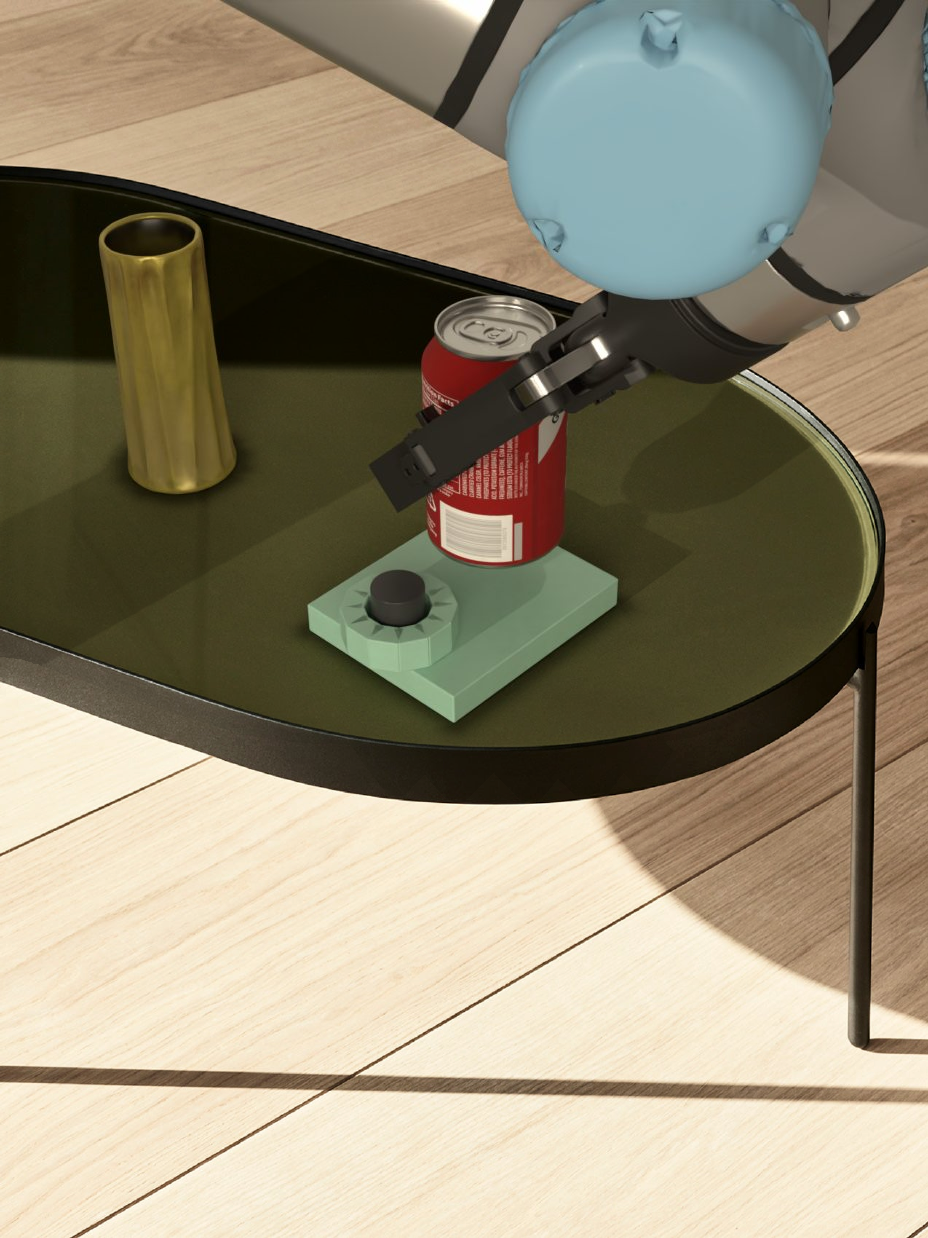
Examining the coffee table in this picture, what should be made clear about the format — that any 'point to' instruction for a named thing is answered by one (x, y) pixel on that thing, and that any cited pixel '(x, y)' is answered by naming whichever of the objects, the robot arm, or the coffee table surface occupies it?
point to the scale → (464, 622)
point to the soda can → (514, 472)
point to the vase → (166, 353)
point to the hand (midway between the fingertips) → (442, 453)
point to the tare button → (398, 598)
